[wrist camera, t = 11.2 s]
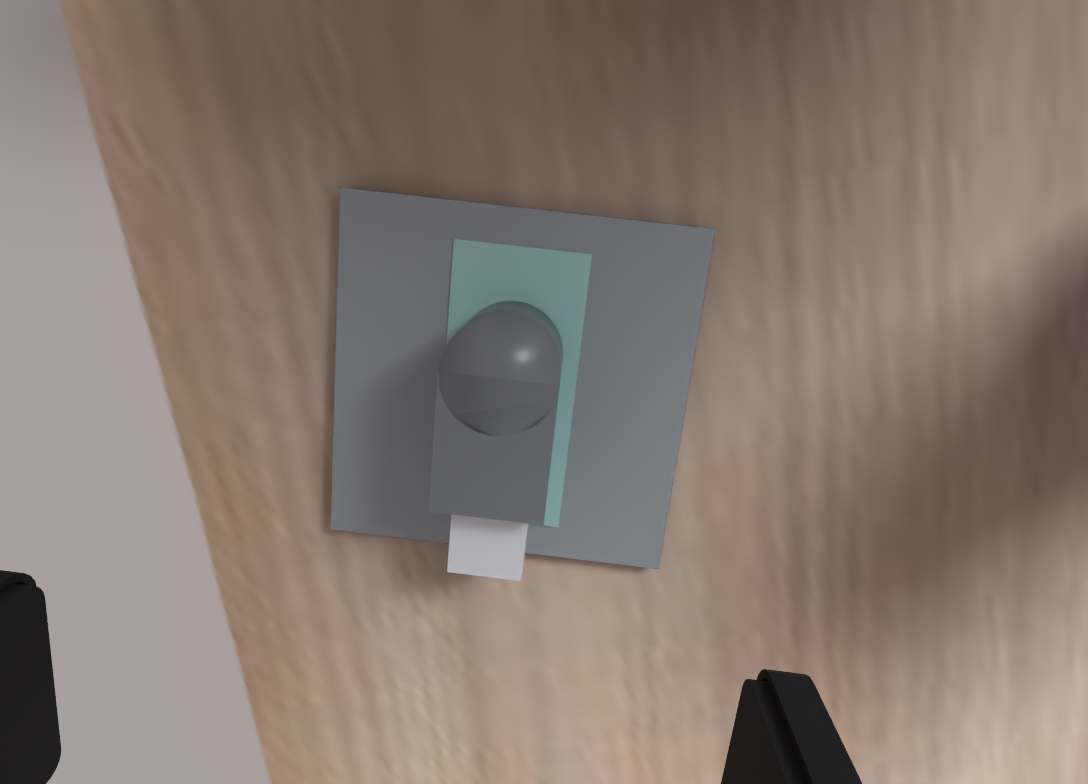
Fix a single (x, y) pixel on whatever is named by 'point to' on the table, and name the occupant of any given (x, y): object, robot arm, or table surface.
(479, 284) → the dock pad
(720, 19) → the table surface
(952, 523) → the table surface
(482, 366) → the usb plug
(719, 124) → the table surface
